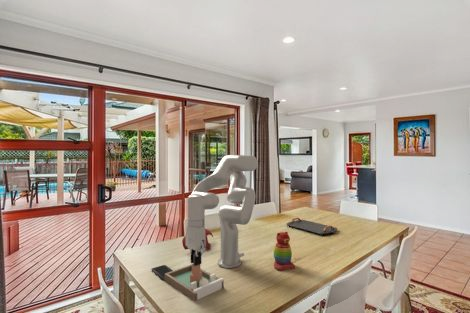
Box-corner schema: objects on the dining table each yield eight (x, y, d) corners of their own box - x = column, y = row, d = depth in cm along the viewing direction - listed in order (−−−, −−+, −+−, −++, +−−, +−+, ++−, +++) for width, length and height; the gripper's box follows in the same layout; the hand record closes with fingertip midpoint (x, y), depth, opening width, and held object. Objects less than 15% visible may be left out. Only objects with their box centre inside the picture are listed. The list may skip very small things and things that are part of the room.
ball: (210, 287, 112) (205, 286, 115) (209, 277, 113) (203, 276, 115) (203, 290, 109) (198, 289, 112) (201, 280, 110) (196, 279, 113)
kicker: (198, 279, 119) (199, 251, 119) (202, 281, 117) (202, 252, 117) (189, 283, 115) (189, 254, 115) (192, 285, 114) (192, 255, 114)
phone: (163, 279, 120) (150, 268, 132) (163, 281, 120) (150, 270, 132) (178, 274, 125) (165, 264, 137) (178, 276, 125) (165, 266, 137)
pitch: (192, 270, 132) (192, 260, 132) (223, 287, 114) (223, 276, 114) (164, 280, 121) (164, 269, 121) (194, 301, 104) (194, 288, 104)
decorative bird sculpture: (216, 248, 174) (204, 230, 180) (224, 241, 171) (212, 222, 176) (188, 263, 150) (175, 241, 155) (197, 255, 147) (183, 232, 152)
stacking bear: (277, 271, 131) (277, 236, 130) (269, 263, 140) (269, 230, 140) (297, 268, 134) (297, 234, 134) (287, 261, 143) (287, 229, 143)
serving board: (283, 226, 215) (283, 219, 215) (300, 222, 229) (300, 215, 229) (324, 238, 185) (324, 229, 185) (341, 232, 199) (341, 224, 199)
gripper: (179, 220, 120) (179, 260, 120) (199, 227, 108) (199, 272, 108) (193, 218, 125) (192, 256, 125) (213, 224, 113) (213, 266, 113)
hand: (196, 263), depth 116 cm, fingers closed on kicker, 2 cm apart
